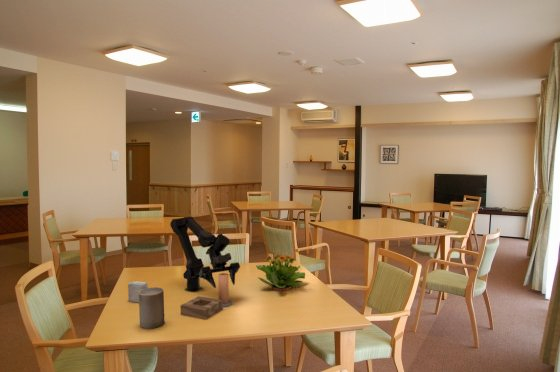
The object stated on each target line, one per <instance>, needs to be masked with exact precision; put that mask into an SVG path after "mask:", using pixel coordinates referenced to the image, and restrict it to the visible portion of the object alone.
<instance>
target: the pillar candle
mask: <svg viewBox="0 0 560 372" xmlns="http://www.w3.org/2000/svg"><path fill="white" fill-rule="evenodd" d="M164 298H165V297H164V289H163V288H162V287H148V288H146V289H143V290H141V291H139V302H138V307H139V327H141V328H143V329H148V330H149V329H156V328H159V327H162V326H163V325H165V323H166V322H165V299H164Z"/></svg>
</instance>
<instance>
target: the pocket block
mask: <svg viewBox="0 0 560 372" xmlns="http://www.w3.org/2000/svg"><path fill="white" fill-rule="evenodd" d="M223 309H224V307H223V300H219V298H218V299H217V298H212V297H206V296H200V295H198V296H196V297H194V298H192V299H190V300H188V301H186V302H184V303H182V304H180V315H182V316H187V317H191V318H197V319H200V320H207V319H208V318H210V317H212V316H214V315H215V314H217V313H219V312H220V311H222V310H223Z"/></svg>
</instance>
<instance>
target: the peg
mask: <svg viewBox="0 0 560 372" xmlns="http://www.w3.org/2000/svg"><path fill="white" fill-rule="evenodd" d="M217 279H218V300H223V304H227V303H229V300H230V298H229V297H230V296H229V291H230V290H229V274H228V273H227V272H226V273H225V272H221V273H219V274H218V277H217Z"/></svg>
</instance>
